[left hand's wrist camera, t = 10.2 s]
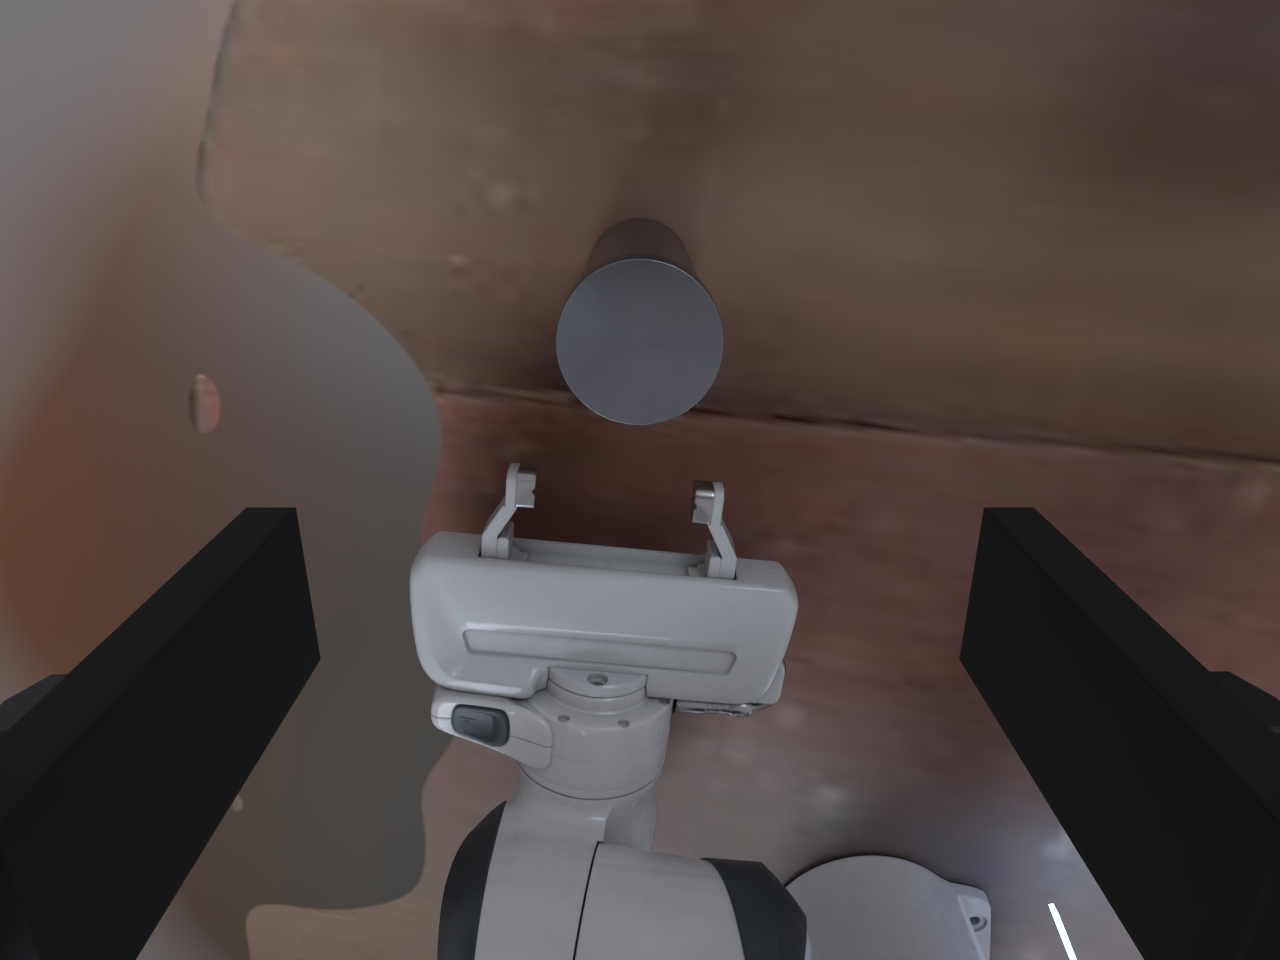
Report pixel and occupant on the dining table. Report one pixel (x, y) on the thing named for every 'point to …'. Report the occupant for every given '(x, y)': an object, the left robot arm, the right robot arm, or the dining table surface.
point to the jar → (639, 243)
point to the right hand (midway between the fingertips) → (616, 476)
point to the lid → (639, 339)
